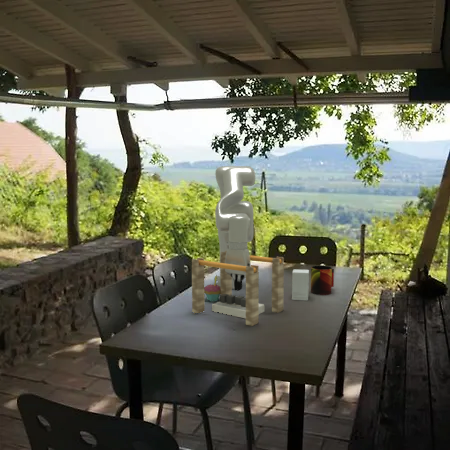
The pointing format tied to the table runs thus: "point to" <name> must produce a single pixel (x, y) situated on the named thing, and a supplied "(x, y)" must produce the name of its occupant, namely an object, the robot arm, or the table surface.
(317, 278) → the mug
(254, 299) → the wooden post rack
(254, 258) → the orange cylindrical bar
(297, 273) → the supplement box
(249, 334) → the table surface
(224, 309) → the breaker panel
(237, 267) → the orange rounded rod
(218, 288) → the cupcake
